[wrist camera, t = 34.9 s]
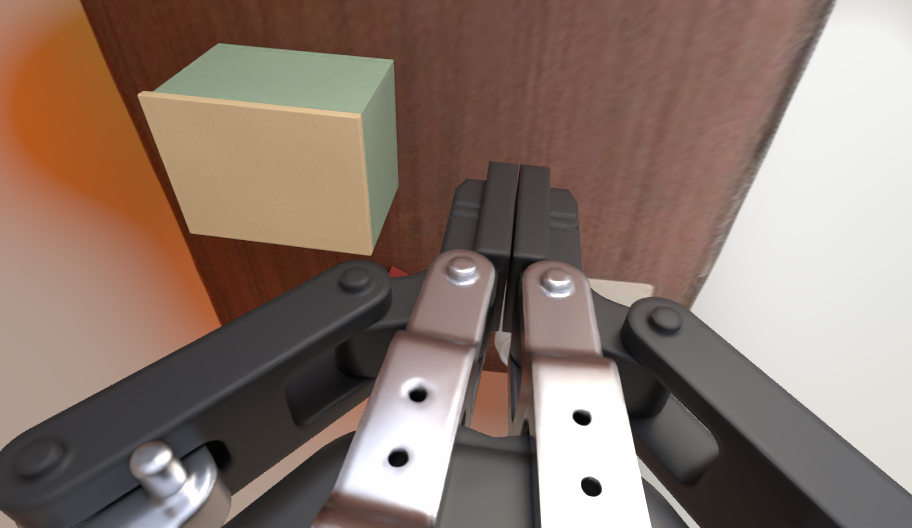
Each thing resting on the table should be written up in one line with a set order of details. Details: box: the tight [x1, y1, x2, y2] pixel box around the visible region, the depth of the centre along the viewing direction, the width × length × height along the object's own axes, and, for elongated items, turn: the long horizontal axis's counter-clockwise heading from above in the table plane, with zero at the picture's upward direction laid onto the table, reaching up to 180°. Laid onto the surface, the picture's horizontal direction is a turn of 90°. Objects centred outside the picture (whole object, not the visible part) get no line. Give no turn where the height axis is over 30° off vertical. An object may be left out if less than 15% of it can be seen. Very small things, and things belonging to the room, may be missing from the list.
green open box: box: [153, 43, 398, 249], centre depth 48 cm, size 17×14×11 cm
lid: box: [138, 91, 373, 256], centre depth 44 cm, size 17×14×1 cm
